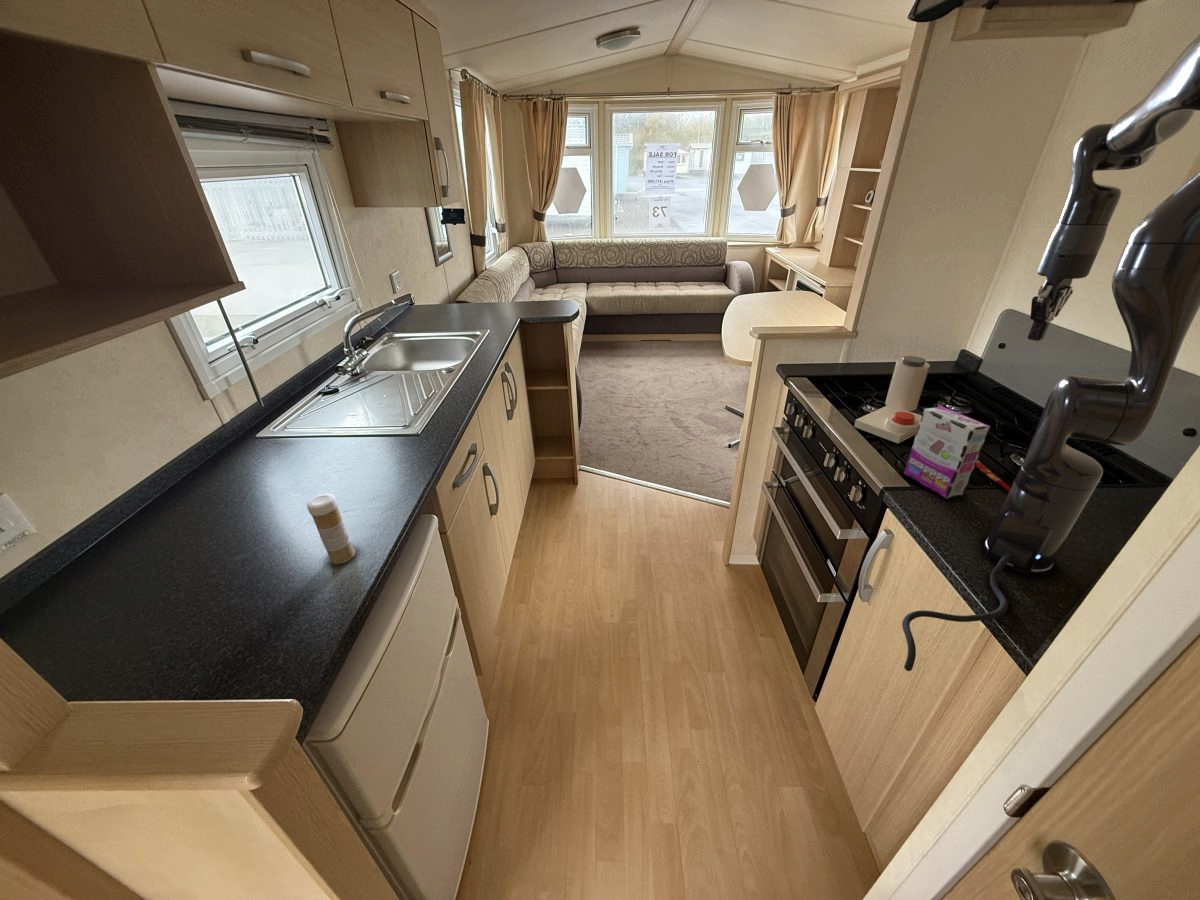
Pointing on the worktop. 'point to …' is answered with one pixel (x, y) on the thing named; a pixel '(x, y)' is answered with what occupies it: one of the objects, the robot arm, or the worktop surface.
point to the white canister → (907, 383)
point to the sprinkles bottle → (331, 528)
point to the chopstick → (991, 475)
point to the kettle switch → (904, 418)
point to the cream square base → (888, 425)
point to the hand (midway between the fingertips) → (1034, 339)
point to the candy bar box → (945, 451)
